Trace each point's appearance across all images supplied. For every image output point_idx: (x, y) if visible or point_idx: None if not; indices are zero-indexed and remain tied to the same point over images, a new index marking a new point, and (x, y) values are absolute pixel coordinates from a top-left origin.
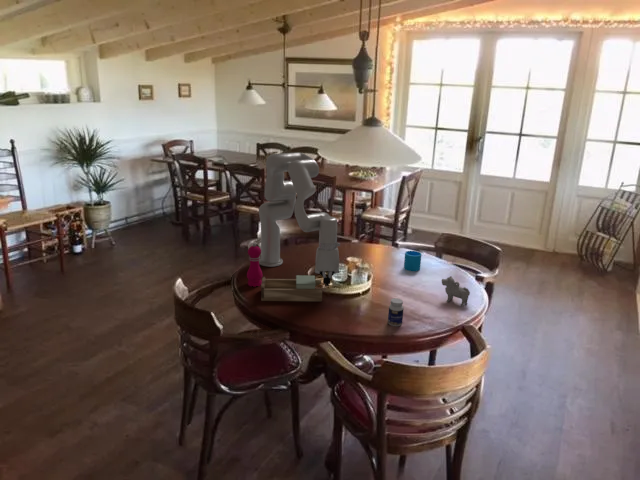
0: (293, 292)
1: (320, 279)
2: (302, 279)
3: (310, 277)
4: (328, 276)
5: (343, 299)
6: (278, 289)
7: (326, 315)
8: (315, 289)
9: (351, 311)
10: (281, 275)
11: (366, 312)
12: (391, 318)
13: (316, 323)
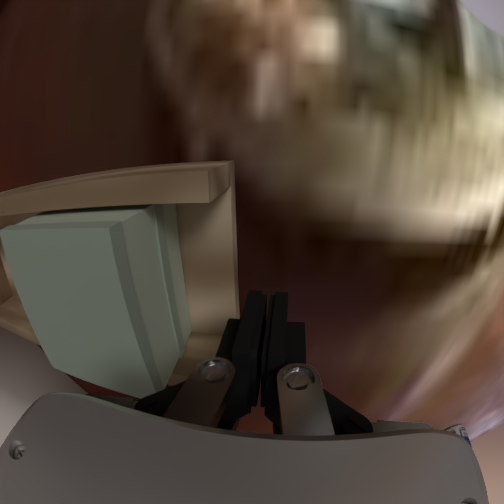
0: None
1: (202, 172)
2: (50, 317)
3: (83, 284)
4: (273, 419)
5: (377, 316)
6: (21, 333)
7: (257, 429)
8: (177, 379)
9: (366, 410)
10: (38, 13)
11: (416, 408)
12: None
13: None
